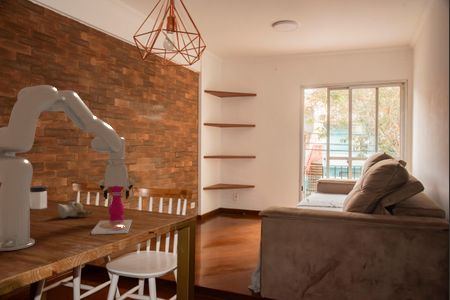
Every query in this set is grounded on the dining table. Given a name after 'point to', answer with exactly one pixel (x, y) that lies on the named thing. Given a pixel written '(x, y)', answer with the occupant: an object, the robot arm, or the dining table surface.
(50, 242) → the dining table surface
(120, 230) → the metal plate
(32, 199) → the jar
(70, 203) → the ceramic sculpture
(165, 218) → the dining table surface
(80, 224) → the dining table surface
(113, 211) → the pepper mill
